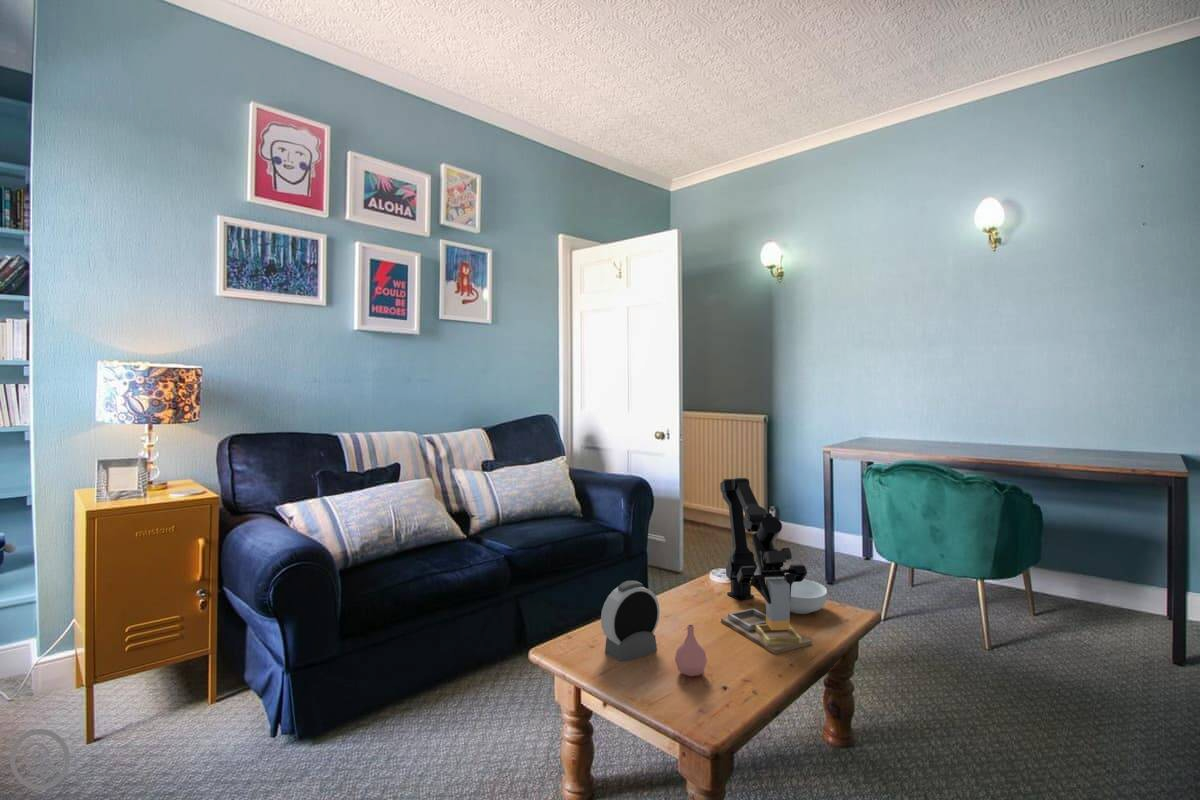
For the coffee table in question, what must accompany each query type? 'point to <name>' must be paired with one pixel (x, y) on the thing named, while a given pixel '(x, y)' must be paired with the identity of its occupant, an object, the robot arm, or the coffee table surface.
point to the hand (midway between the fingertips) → (779, 603)
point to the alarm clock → (630, 621)
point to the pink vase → (690, 655)
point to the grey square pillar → (778, 604)
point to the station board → (764, 631)
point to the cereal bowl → (807, 597)
